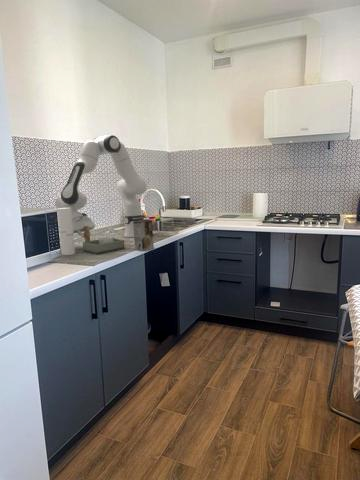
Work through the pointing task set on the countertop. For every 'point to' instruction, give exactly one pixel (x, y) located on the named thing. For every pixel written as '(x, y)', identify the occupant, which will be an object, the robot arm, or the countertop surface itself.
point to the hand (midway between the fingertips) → (87, 236)
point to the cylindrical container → (66, 231)
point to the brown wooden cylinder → (86, 233)
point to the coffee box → (143, 235)
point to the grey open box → (103, 245)
